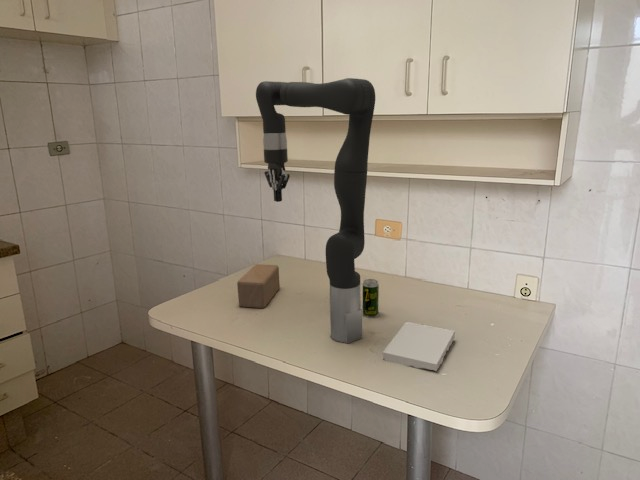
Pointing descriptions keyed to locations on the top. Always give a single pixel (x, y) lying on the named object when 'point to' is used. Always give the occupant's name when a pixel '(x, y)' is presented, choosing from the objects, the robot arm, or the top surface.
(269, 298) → the wooden block
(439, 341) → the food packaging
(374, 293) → the beer can
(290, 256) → the top surface
